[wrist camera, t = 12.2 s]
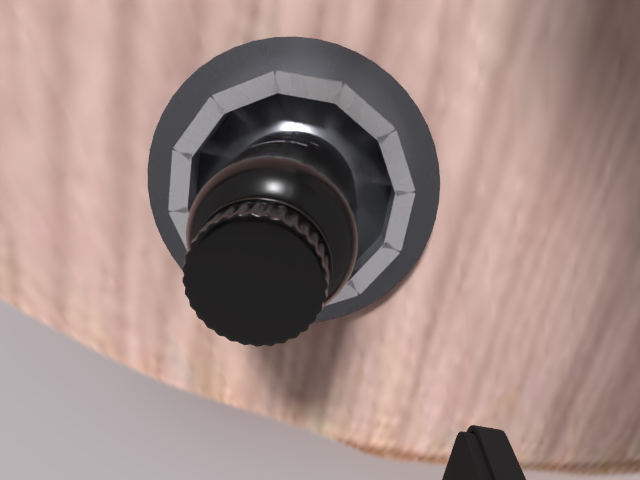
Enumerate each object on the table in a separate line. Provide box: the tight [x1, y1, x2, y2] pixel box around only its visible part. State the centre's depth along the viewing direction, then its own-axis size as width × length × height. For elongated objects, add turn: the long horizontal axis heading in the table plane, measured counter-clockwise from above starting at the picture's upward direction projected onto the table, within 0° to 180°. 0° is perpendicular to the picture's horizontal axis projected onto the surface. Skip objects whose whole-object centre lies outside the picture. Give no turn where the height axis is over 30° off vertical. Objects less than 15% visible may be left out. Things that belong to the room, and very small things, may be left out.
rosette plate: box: [148, 37, 440, 322], centre depth 27 cm, size 16×16×3 cm
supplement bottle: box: [182, 130, 358, 347], centre depth 21 cm, size 7×7×12 cm
